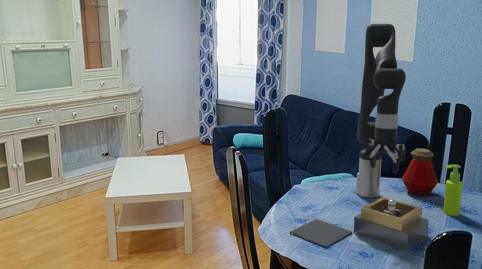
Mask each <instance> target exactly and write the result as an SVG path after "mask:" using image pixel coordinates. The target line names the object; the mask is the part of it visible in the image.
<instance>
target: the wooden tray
mask: <svg viewBox="0 0 482 269" xmlns="http://www.w3.org/2000/svg"><path fill="white" fill-rule="evenodd" d="M389 200H394V201H395V202H396V207H395V209H398V210H400V214H402V215H404V216H402V217H400V218H399V217H396V216H393V215H389V214H386V213H383V212H380V211H381V210H383V209H385V210H388V201H389ZM360 210H361V211H360V214H361V219H364V220H367V221H370V222H373V223H376V224H379V225H382V226H385V227H388V228H392V229H395V230H398V231H401V232H402V231H403V230H405V229H406V228H408V227H409V226H411V225H412V224H414V223H415V222H417V221H418V220H420V219H421V218H423V207H421V206H418V205H413V204H410V203H407V202H403V201H398V200H395V199H393V198H388V197H383V196H382V197H380V198H378V199H376V200H374V201H372V202H370V203H369V204H366V205H365V206H362V207H361V208H360Z"/></svg>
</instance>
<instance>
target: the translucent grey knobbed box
mask: <svg viewBox="0 0 482 269" xmlns="http://www.w3.org/2000/svg"><path fill="white" fill-rule="evenodd" d="M394 200H395V199H392V200H389V201H388V210H385V209H383V210H381V211H380V212H383V213H386V214H389V215H393V216H396V217H399V218H400V217H402V216H404V215H402V214H400V210H398V209H395V207H396V202H395V201H394ZM353 217H354V218H353V219H354V220H353V233H355V234H357V235H360V236H363V237H366V238H369V239H372V240H375V241H377V242H380V243H382V244H386V245H388V246H391V247H394V248H396V249H400V250H403V251H405V252H407V251H409V250H410V249H411V248H413V247H414V246H416V245H417V244H418V243H420V242H421V241H422V240H424V239H425V238H427V236H429V234H428V232H429V224H430V223H429V222H430V219H427V218H424V217H422V218H421V219H420V220H418V221H417V222H415V223H414V224H412V225H411V226H409V227H408V228H406V229H405V230H403V231H402V232H401V231H398V230H395V229H392V228H388V227H385V226H382V225H379V224H376V223H373V222H370V221H367V220H364V219H361V213H359V214H357V215H356V216H353Z"/></svg>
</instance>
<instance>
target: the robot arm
mask: <svg viewBox="0 0 482 269" xmlns="http://www.w3.org/2000/svg"><path fill="white" fill-rule="evenodd" d="M395 28H396V27H395V26H394V25H393V24H392V23H369V24H368V25H367V26H366V28H365V41H364V65H363V74H362V81H361V94H360V96H361V97H360V110H359V111H360V112H359V116H358V118H359V119H358V123H357V131H356V138H357V141H358V142H359V144H365V148H364V149H361V150H360V152H359V162H358V164H359V165H358V172H357V173H356V187H355V188H356V189H355V194H357V195H358V196H360V197H363V198H369V199H373V198H374V199H375V198H379V196H380V189H381V188H380V186H381V173H382V172H381V170H382V169H381V168H382V154H384V155H386V156H387V155H388V156H389V157H390V158H391V160H392V161H393V162H392V173H393V174H396V173H397V172H399V170H400V163H403V162H405V161H406V144H405V143H403V144H398V143H397V139H398V129H399V128H398V127H399V114H398V113H399V103H400V102H399V101H400V96H401V94H402V91H403V88H404V85H405V82H406V78H407V77H406V72H405V71H404V70H403V69H402V68H398V62H397V57H396V29H395ZM374 48H380V49H379V51H377V54H376V56H375V55H374V54H375V53H374ZM386 90H392V91H391V93H388V94H386V95H385V92H386ZM375 108H376V114H375V122H374V121H373V122H372V121H371V122H369V118H370V116H371V114H372V112H373V110H374V109H375ZM396 149H397V150H396ZM397 151H398V152H397Z"/></svg>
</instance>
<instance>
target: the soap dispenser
mask: <svg viewBox="0 0 482 269" xmlns="http://www.w3.org/2000/svg"><path fill="white" fill-rule="evenodd" d="M444 167H445V168H447V169H453V170H452V171H451V172H450V175H449V179H447V180H446V182H445V190H444V200H443V211H442V213H443V214H445V215H448V216H452V217H453V216H454V217H458V216H460V214H461V204H462V197H463V196H462V194H463V184H464V183H463V181H460V179H461V178H460V177H461V174H460V173H459V168H461V167H462V166H461V165H459V164H448V165H445V166H444Z"/></svg>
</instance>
